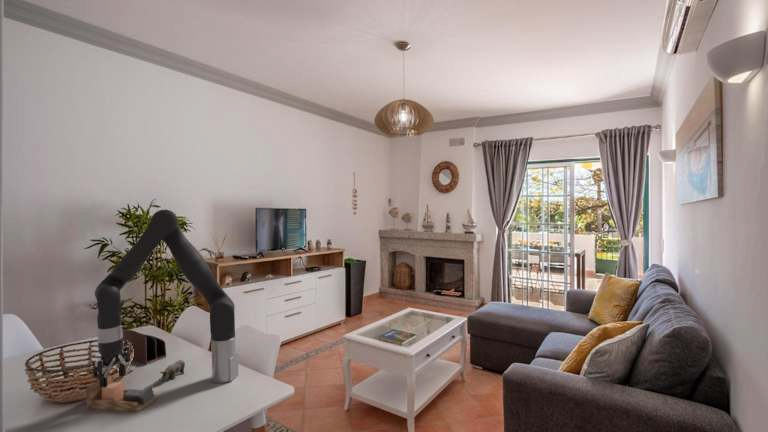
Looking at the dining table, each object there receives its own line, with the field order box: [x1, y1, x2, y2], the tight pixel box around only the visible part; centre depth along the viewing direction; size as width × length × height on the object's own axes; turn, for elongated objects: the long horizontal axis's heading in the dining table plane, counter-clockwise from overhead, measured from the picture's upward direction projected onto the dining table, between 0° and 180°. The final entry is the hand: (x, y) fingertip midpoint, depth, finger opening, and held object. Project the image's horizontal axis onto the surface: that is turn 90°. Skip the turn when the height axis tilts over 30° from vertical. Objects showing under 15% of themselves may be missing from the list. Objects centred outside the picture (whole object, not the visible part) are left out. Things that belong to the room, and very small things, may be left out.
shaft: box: [123, 385, 154, 404], centre depth 145 cm, size 8×4×4 cm, turn 83°
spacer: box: [102, 381, 124, 401], centre depth 146 cm, size 4×4×6 cm
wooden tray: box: [85, 375, 157, 413], centre depth 145 cm, size 20×9×8 cm, turn 83°
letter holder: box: [122, 328, 167, 366], centre depth 186 cm, size 10×20×14 cm, turn 63°
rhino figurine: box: [159, 359, 186, 383], centre depth 165 cm, size 4×14×6 cm, turn 166°
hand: (113, 381), depth 145 cm, fingers open, 8 cm apart
